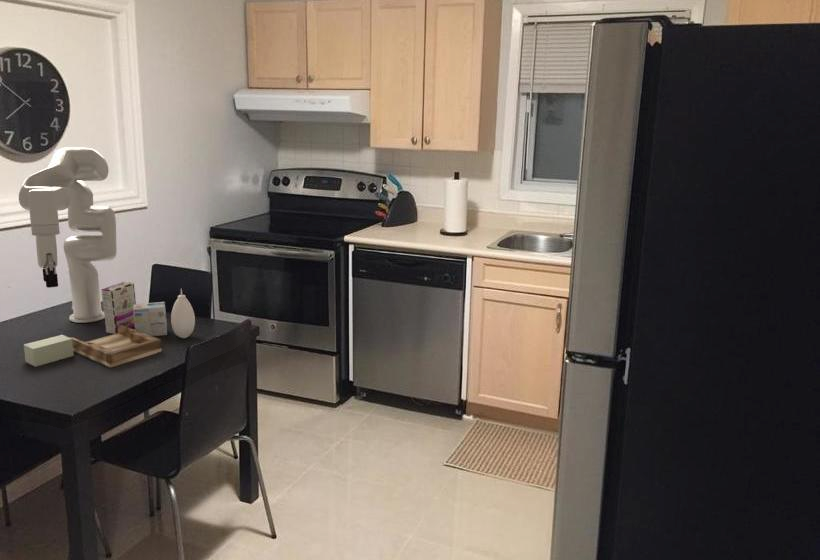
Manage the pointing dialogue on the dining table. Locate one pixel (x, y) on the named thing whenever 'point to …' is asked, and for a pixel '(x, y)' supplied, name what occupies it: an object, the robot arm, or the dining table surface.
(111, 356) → the wooden tray
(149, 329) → the light bulb box
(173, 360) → the dining table surface
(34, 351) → the cream rectangular block
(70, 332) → the dining table surface
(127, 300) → the candy bar box
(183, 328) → the white air blower bulb
